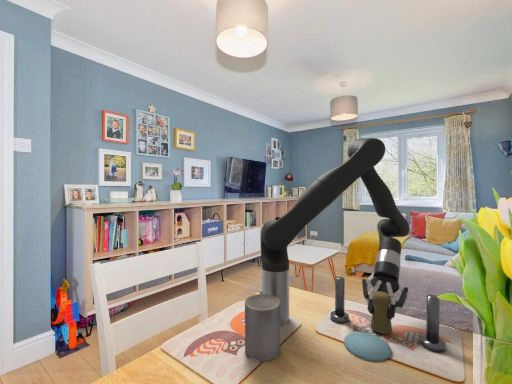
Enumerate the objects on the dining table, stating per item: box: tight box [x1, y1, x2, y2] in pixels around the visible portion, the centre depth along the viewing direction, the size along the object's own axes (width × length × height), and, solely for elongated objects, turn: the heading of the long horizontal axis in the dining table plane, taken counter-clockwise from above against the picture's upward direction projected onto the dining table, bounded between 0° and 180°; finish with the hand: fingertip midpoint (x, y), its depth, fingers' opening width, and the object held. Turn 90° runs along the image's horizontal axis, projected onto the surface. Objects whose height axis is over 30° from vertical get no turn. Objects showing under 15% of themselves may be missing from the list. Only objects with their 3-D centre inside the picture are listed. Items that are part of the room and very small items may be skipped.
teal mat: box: [343, 331, 392, 362], centre depth 73 cm, size 12×12×1 cm
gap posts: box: [330, 276, 447, 354], centre depth 81 cm, size 32×6×14 cm, turn 55°
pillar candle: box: [244, 294, 281, 363], centre depth 71 cm, size 10×10×15 cm
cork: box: [370, 291, 393, 335], centre depth 81 cm, size 6×6×11 cm
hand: (380, 315), depth 79 cm, fingers closed on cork, 4 cm apart
